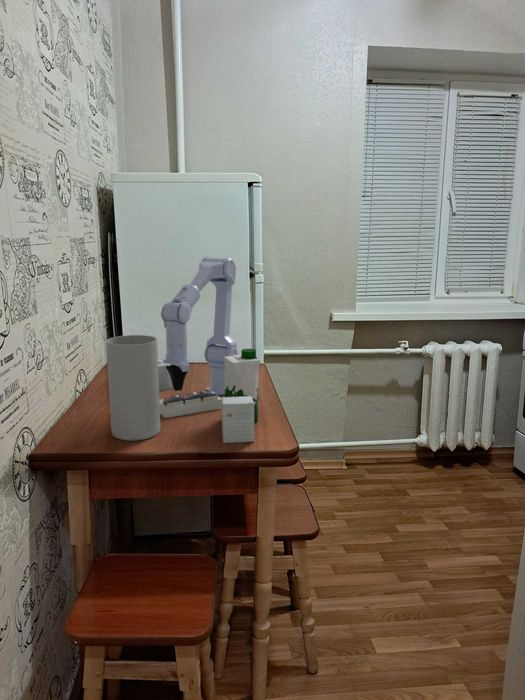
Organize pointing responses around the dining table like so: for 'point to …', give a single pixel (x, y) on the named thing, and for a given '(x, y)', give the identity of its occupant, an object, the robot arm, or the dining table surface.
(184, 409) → the switch panel
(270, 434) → the dining table surface
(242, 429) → the small box
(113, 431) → the cylinder vase
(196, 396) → the rocker
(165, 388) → the toilet tissue
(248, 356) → the milk carton
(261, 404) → the dining table surface
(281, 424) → the dining table surface
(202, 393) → the rocker
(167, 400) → the rocker
